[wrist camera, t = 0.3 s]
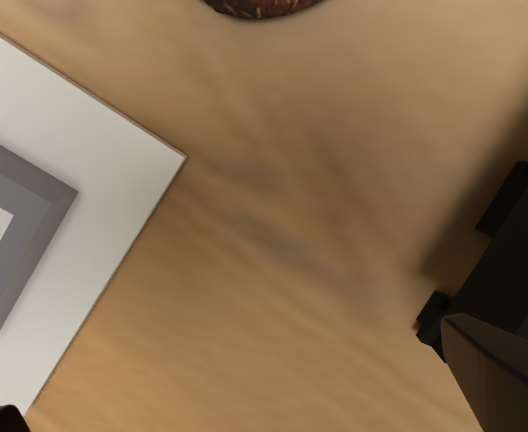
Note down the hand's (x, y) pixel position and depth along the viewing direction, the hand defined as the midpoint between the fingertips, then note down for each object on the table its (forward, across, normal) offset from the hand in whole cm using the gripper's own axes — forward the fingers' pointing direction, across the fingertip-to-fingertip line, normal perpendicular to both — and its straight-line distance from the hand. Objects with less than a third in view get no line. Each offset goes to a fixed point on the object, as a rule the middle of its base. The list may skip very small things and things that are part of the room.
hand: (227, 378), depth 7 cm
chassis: (+14, +15, -2) cm, 21 cm away
